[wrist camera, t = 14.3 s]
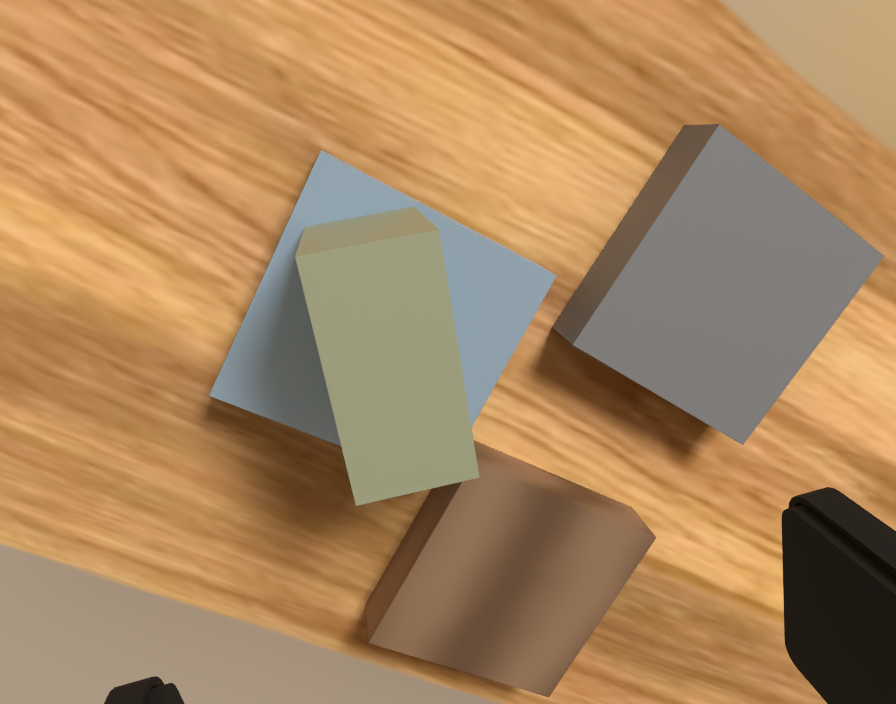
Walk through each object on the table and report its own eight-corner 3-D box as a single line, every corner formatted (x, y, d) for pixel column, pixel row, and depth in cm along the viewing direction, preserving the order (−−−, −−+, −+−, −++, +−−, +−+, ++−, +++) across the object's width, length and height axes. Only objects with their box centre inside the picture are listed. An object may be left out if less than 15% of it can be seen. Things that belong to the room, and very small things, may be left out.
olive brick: (414, 206, 23) (439, 229, 18) (448, 403, 26) (479, 477, 21) (304, 226, 23) (295, 256, 17) (351, 424, 26) (355, 505, 20)
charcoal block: (832, 244, 30) (884, 256, 27) (706, 418, 32) (742, 445, 29) (678, 125, 27) (719, 124, 24) (548, 324, 29) (572, 345, 26)
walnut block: (628, 503, 33) (656, 537, 30) (531, 652, 35) (548, 697, 32) (460, 431, 30) (473, 462, 27) (365, 598, 32) (368, 643, 29)
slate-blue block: (533, 261, 28) (556, 275, 25) (429, 451, 30) (439, 484, 27) (321, 149, 25) (320, 151, 22) (221, 368, 27) (209, 395, 24)
